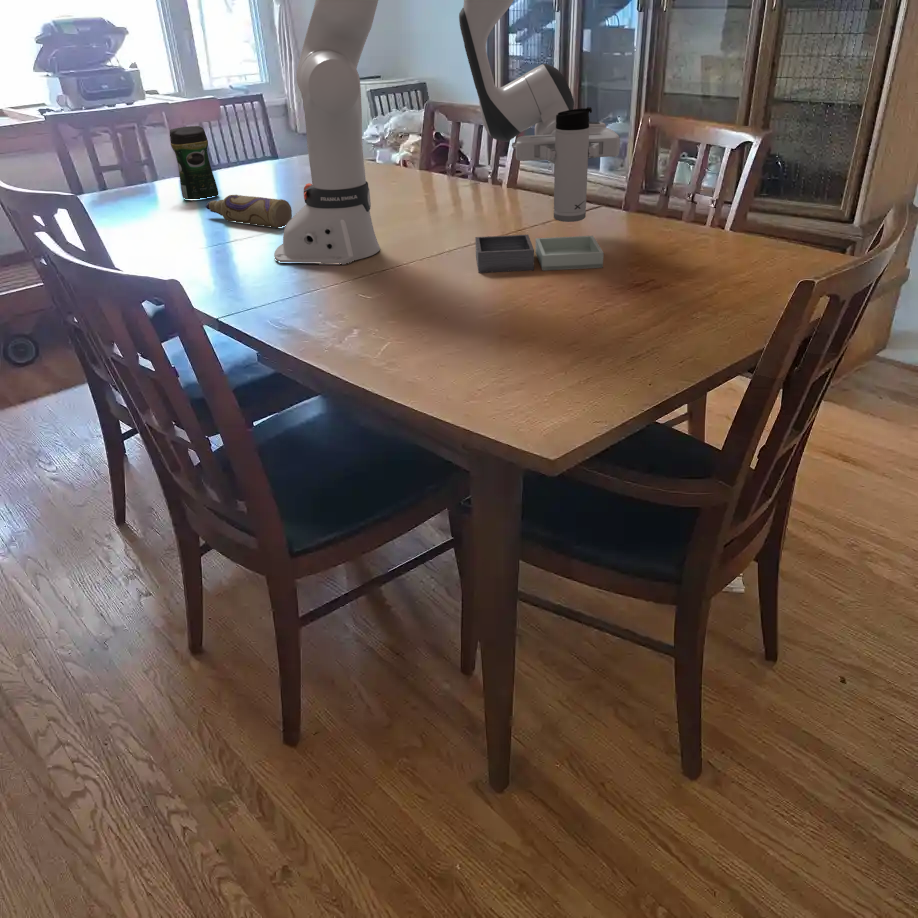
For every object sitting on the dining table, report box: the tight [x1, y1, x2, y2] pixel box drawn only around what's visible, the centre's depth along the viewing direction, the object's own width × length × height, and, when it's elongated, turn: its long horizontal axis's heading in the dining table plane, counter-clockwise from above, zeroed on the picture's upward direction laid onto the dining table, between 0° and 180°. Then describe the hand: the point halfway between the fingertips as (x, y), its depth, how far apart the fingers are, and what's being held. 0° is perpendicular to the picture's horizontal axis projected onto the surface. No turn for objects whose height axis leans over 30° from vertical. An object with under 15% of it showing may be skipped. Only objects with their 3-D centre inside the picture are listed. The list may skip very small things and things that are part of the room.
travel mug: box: [553, 106, 593, 223], centre depth 151 cm, size 6×7×20 cm
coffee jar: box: [169, 125, 220, 200], centre depth 216 cm, size 10×8×19 cm
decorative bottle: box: [205, 194, 293, 229], centre depth 195 cm, size 26×8×7 cm, turn 58°
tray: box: [534, 235, 604, 272], centre depth 160 cm, size 12×12×3 cm
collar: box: [474, 234, 535, 274], centre depth 160 cm, size 11×11×4 cm
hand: (572, 154), depth 149 cm, fingers closed on travel mug, 6 cm apart
